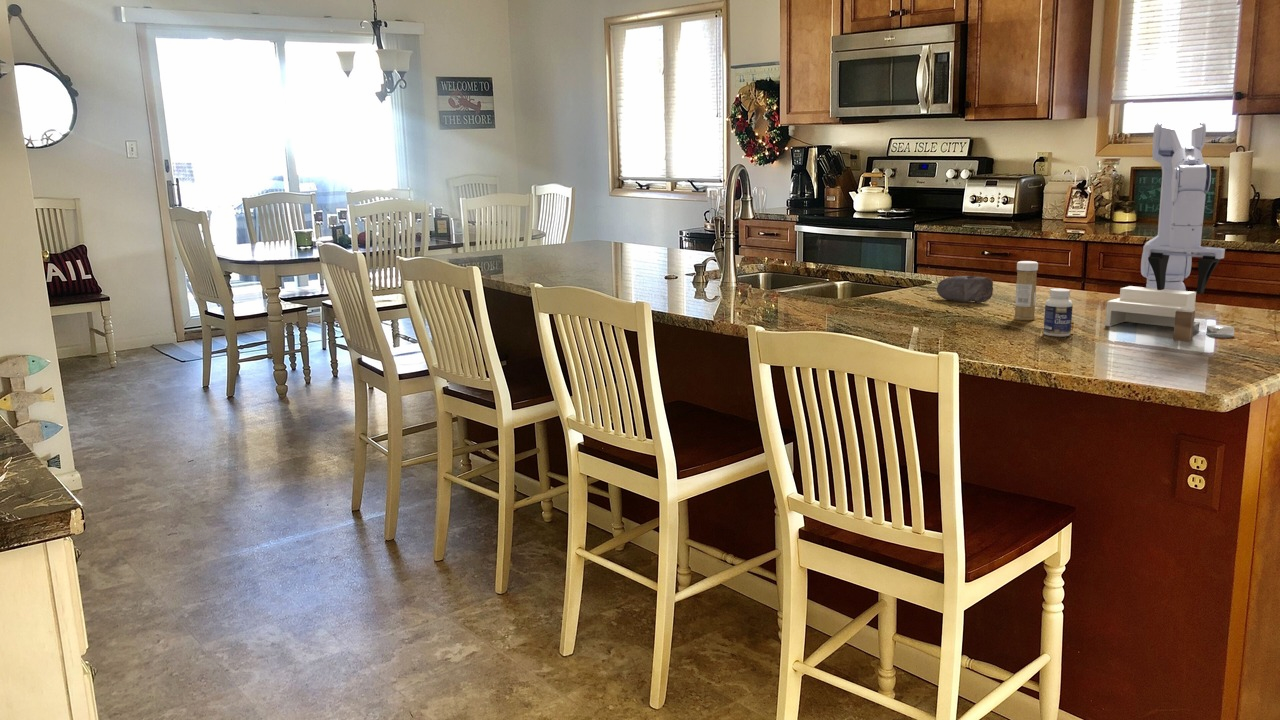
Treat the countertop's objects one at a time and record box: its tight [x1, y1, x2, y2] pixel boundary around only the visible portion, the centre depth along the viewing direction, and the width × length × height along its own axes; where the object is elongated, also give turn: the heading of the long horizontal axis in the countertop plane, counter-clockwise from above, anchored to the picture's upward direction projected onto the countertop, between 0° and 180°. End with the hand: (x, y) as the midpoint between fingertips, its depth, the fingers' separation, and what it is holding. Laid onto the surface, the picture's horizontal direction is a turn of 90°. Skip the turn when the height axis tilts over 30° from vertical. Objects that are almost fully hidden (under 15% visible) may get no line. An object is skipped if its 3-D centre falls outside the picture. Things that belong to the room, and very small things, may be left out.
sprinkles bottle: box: [1013, 260, 1039, 322], centre depth 233 cm, size 5×5×13 cm
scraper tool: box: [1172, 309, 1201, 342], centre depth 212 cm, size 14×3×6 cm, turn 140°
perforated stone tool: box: [936, 275, 994, 304], centre depth 260 cm, size 15×5×7 cm, turn 41°
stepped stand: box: [1105, 285, 1197, 328], centre depth 222 cm, size 9×15×8 cm, turn 42°
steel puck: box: [1205, 324, 1235, 339], centre depth 212 cm, size 5×5×2 cm
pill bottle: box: [1042, 287, 1074, 338], centre depth 215 cm, size 5×5×10 cm
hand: (1180, 291), depth 207 cm, fingers open, 7 cm apart
